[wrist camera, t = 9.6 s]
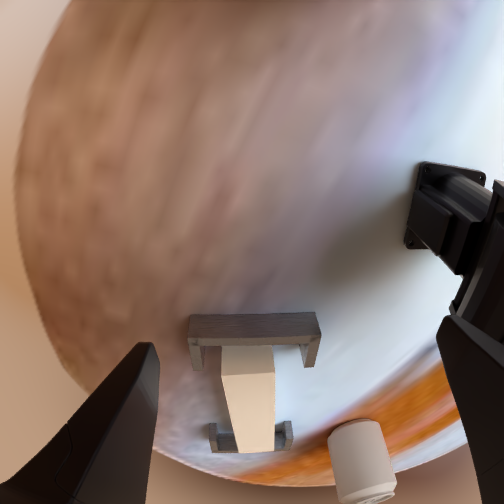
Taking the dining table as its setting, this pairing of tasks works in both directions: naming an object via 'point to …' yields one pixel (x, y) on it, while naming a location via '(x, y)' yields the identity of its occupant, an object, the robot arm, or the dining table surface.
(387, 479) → the can
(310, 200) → the dining table surface
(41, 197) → the dining table surface
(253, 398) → the beige wooden bar
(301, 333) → the end caps
